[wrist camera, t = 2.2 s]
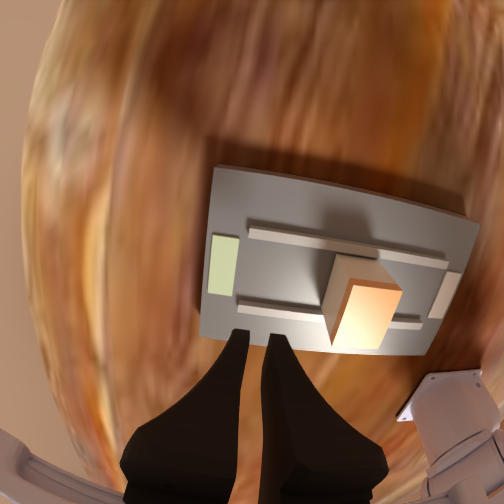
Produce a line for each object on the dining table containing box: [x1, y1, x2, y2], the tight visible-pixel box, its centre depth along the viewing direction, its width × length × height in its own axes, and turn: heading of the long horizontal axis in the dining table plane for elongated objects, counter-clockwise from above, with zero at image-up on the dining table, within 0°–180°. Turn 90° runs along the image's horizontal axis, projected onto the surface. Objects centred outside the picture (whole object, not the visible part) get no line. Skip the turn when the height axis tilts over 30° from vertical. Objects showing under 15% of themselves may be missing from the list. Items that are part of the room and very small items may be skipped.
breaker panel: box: [199, 164, 480, 355], centre depth 20 cm, size 19×12×3 cm, turn 82°
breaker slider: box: [321, 254, 403, 349], centre depth 17 cm, size 3×4×4 cm
